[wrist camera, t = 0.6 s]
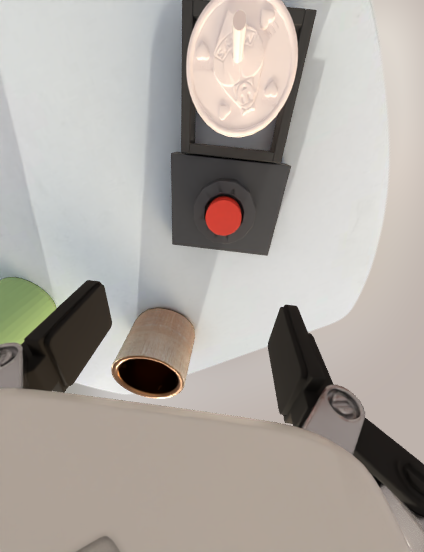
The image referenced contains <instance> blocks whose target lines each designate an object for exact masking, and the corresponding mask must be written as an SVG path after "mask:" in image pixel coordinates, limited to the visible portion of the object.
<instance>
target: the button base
mask: <svg viewBox="0 0 424 552" xmlns="http://www.w3.org/2000/svg"><path fill="white" fill-rule="evenodd" d="M290 168H291V166H290V165H287V164H283V163H274V162H264V161H255V160H246V159H236V158H227V157H218V156H208V155H199V154H190V153H180V152H175V153H171V181H172V244H174V245H183V246H191V247H200V248H208V249H216V250H225V251H233V252H241V253H250V254H258V255H268V252H269V248H270V244H271V241H272V237H273V233H274V229H275V225H276V221H277V218H278V214H279V210H280V206H281V202H282V198H283V194H284V191H285V187H286V183H287V179H288V175H289V171H290ZM221 196H228V197H231V198H233V199H234V200H236V201H237V203H238V204H239V206H240V209H241V223H240V226H239V227H238V229H237V230H236V231H235V232H233V233H232V234H229V235H224V236H223V235H217V234H215V233H213V232H212V231H211V230H210V229H209V228H208V226H207V224H206V219H205V216H206V212H207V209H208V207H209V205H210V203H211V202H212V201H213V200H214V199H216V198H217V197H221Z"/></svg>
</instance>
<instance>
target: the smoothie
mask: <svg viewBox="0 0 424 552" xmlns="http://www.w3.org/2000/svg"><path fill="white" fill-rule="evenodd" d="M297 62H298V42H297V35H296V31H295V26H294V23H293V20H292V18H291V15H290V13H289V11H288V10H287V8H286V6H285V5H284V3H283V2H282V1H281V0H211V1H210V2H209V3H208V4H207V6H206V7H205V8H204V10H203V11H202V13H201V14H200V16H199V18H198V20H197V22H196V24H195V26H194V28H193V31H192V34H191V37H190V41H189V45H188V51H187V60H186V73H187V82H188V88H189V92H190V95H191V98H192V101H193V103H194V105H195V107H196V109H197V112H198V113H199V115H200V116H201V117H202V119H203V120H204V121H205V123H206V124H207V125H208V126H210V127H211V128H212V129H213V130H215V131H216V132H218V133H220V134H223V135H225V136H228V137H244V136H248V135H252V134H254V133H256V132H258V131H260V130H261V129H263V128H265V127H266V126H267V125H268V124H269V123H270V122H271V121H272V120H273V119H274V118H275V117H276V116H277V114H278V113H279V111H280V110H281V108H282V107H283V105H284V104H285V102H286V100H287V98H288V96H289V94H290V91H291V89H292V86H293V83H294V79H295V75H296V70H297Z"/></svg>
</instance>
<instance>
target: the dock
mask: <svg viewBox="0 0 424 552" xmlns="http://www.w3.org/2000/svg"><path fill="white" fill-rule="evenodd" d="M209 2H210V0H182V120H181V152H182V153H191V154H201V155H210V156H219V157H229V158H238V159H247V160H257V161H266V162H275V163H281V160H282V156H283V152H284V147H285V143H286V139H287V135H288V130H289V126H290V122H291V118H292V113H293V109H294V105H295V101H296V96H297V92H298V88H299V84H300V79H301V75H302V71H303V67H304V62H305V58H306V54H307V50H308V45H309V41H310V37H311V33H312V28H313V24H314V20H315V16H316V10H311V9H306V10H305V9H301V8H290V7H286V8H287V10H288V11H289V13H290V15H291V18H292V20H293V23H294V26H295V31H296V35H297V42H298V62H297V70H296V75H295V79H294V83H293V86H292V89H291V91H290V94H289V96H288V98H287V100H286V102H285V104H284V105H283V107H282V108H281V110H280V111H279V113H278V115H277V120H276V125H275V130H274V135H273V140H272V145H271V150H270V151H264V150H255V149H245V148H236V147H226V146H217V145H207V144H198V143H194V141H195V113H196V107H195V105H194V103H193V101H192V98H191V95H190V92H189V88H188V82H187V73H186V60H187V51H188V45H189V41H190V37H191V34H192V31H193V28H194V26H195V24H196V22H197V20H198V18H199V16H200V14H201V13H202V11H203V10H204V8H205V7H206V6H207V4H208V3H209Z"/></svg>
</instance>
